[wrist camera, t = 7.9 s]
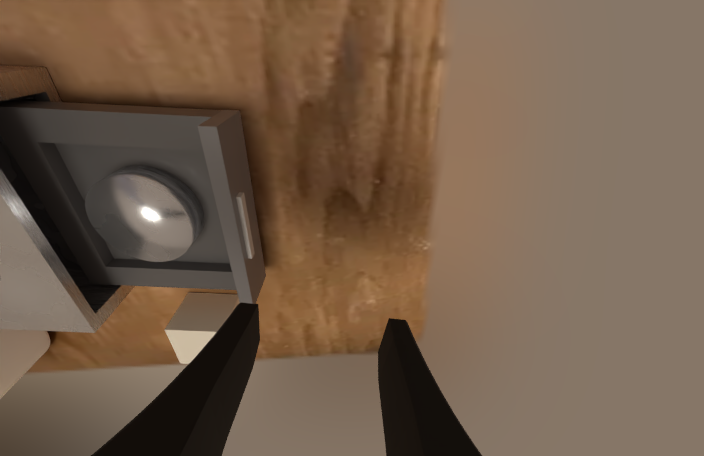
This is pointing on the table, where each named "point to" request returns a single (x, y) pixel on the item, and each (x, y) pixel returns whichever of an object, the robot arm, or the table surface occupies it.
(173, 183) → the disc
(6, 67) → the box
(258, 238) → the tray
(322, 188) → the table surface
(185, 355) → the riser block
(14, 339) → the beverage can
